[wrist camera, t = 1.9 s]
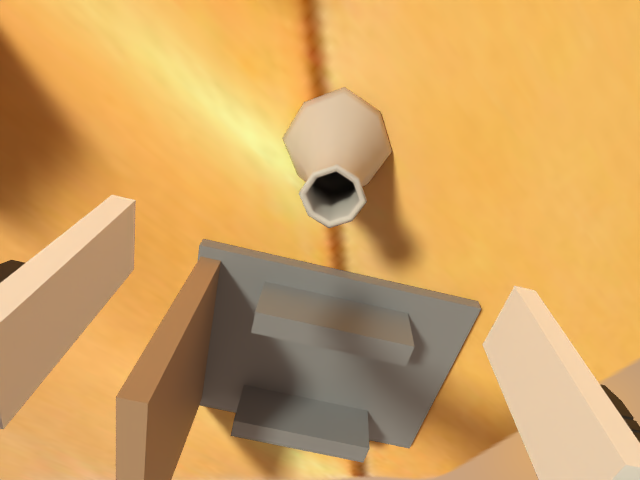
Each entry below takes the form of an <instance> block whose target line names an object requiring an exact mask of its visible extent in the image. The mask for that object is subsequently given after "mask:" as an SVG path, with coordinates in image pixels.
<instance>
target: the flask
mask: <svg viewBox="0 0 640 480" xmlns="http://www.w3.org/2000/svg"><path fill="white" fill-rule="evenodd" d="M283 141H284V143H285V146H286V148H287V150H288V153H289V155H290V158H291V160H292V162H293V165H294V167H295V170H296V172H297V175H298V176H299V177H300V178H302V179H303V180H304V181H306V182H305V184H304V185H303V187H302V188H301V190H300V191H299V195H300V197H301V200H302V202H303V205H304V207H305V209H306V212H307V214H308V216H310V217H311V218H313V219H315V220H316V221H318V222H320V223H321V224H323V225H324V226H326V227H328V228H331V227H334V226H338V225H341V224H344V223H347V222H350V221H353V219H354V218H355V217H356V215H357V214H358V213H359V211H360V210H361V209H362V208H363V206H364V205H365V204H366V202H367V199H366V196H365V193H364V190H363V186H365V185H367V184H368V183H369V182H370V180H371V179H372V178H373V176H374V175H375V174H376V172H377V171H378V170H379V168H380V167H381V166H382V164H383V163H384V162H385V160H386V159H387V158H388V156H389V155H390V154H391V152H392V149H391V146H390V142H389V139H388V136H387V133H386V129H385V126H384V123H383V119H382V116H381V113H380V111H379V110H377V109H376V108H374V107H373V106H371V105H370V104H368V103H367V102H366V101H364V100H363V99H361V98H360V97H358V96H357V95H355V94H354V93H353V92H351V91H350V90H348V89H347V88H345V87H343V88H341V89H338V90H335V91H333V92H330V93H327V94H325V95H322V96H319V97H317V98H314V99H312V100H309V101H306V102H304V103H303V105H302V106H301V108H300V110H299V111H298V113H297V115H296V116H295V118H294V120H293V121H292V123H291V125H290V126H289V128H288V130H287V131H286V133H285V135H284V136H283Z"/></svg>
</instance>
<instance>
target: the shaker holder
mask: <svg viewBox="0 0 640 480" xmlns="http://www.w3.org/2000/svg"><path fill="white" fill-rule="evenodd" d="M480 310H481V307H480V305H479V302H478V301H474V300H470V299H465V298H461V297H457V296H452V295H448V294H443V293H439V292H435V291H430V290H426V289H421V288H417V287H413V286H408V285H404V284H399V283H395V282H391V281H386V280H382V279H377V278H373V277H369V276H364V275H360V274H355V273H351V272H347V271H342V270H338V269H333V268H329V267H325V266H320V265H316V264H311V263H307V262H303V261H298V260H294V259H289V258H285V257H281V256H276V255H272V254H267V253H263V252H259V251H254V250H250V249H245V248H241V247H237V246H232V245H228V244H223V243H219V242H215V241H210V240H206V239H203V240H202V242H201V243H200V245H199V255H198V262H197V264H196V265H195V267H194V269H193V270H192V272H191V274H190V275H189V277H188V279H187V280H186V282H185V284H184V285H183V287H182V288H181V290H180V292H179V293H178V295H177V297H176V298H175V300H174V302H173V303H172V305H171V307H170V308H169V310H168V312H167V313H166V315H165V317H164V318H163V320H162V322H161V323H160V325H159V327H158V328H157V330H156V332H155V333H154V335H153V337H152V338H151V340H150V342H149V343H148V345H147V347H146V348H145V350H144V352H143V353H142V355H141V357H140V358H139V360H138V361H137V363H136V365H135V366H134V368H133V370H132V371H131V373H130V375H129V376H128V378H127V380H126V381H125V383H124V385H123V386H122V388H121V390H120V391H119V393H118V395H117V396H116V480H171V479H172V476H173V473H174V471H175V468H176V465H177V463H178V460H179V457H180V455H181V452H182V450H183V447H184V444H185V442H186V439H187V436H188V434H189V431H190V428H191V426H192V423H193V420H194V418H195V415H196V413H197V410H198V407H199V405H201V406H205V407H210V408H215V409H220V410H225V411H230V412H235V413H236V415H235V418H234V422H233V427H232V432H231V436H235V437H240V438H245V439H250V440H255V441H260V442H265V443H269V444H274V445H279V446H284V447H289V448H294V449H299V450H304V451H309V452H314V453H319V454H324V455H329V456H334V457H339V458H344V459H349V460H354V461H359V462H364V459H365V457H366V455H367V453H368V450H369V440H371V441H376V442H381V443H386V444H391V445H396V446H401V447H405V448H410V446H411V444H412V442H413V441H414V439H415V437H416V435H417V433H418V431H419V429H420V427H421V425H422V423H423V421H424V419H425V417H426V415H427V413H428V411H429V409H430V408H431V406H432V404H433V402H434V400H435V398H436V396H437V394H438V392H439V390H440V388H441V386H442V384H443V382H444V380H445V378H446V376H447V375H448V373H449V371H450V369H451V367H452V365H453V363H454V361H455V359H456V357H457V355H458V353H459V351H460V349H461V347H462V345H463V343H464V341H465V340H466V338H467V336H468V334H469V332H470V330H471V328H472V326H473V324H474V322H475V320H476V318H477V316H478V314H479V312H480Z"/></svg>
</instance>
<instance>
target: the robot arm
mask: <svg viewBox="0 0 640 480" xmlns="http://www.w3.org/2000/svg"><path fill="white" fill-rule="evenodd" d="M134 241H135V200H133V199H128V198H124V197H119V196H115V195H111V196H110V197H109V198H107V199H106V200H105V201H103V202H102V203H101V204H100V205H98V206H97V207H96V208H95V209H93V210H92V211H91V212H90V213H88V214H87V215H86V216H85V217H83V218H82V219H81V220H79V221H78V222H77V223H76V224H74V225H73V226H72V227H71V228H69V229H68V230H67V231H66V232H64V233H63V234H62V235H60V236H59V237H58V238H57V239H55V240H54V241H53V242H52V243H50V244H49V245H48V246H47V247H45V248H44V249H43V250H41V251H40V252H39V253H38V254H36V255H35V256H34V257H33V258H31V259H30V260H29V261H28V262H26V263H24V262H19V261H15V260H10V261H7V262H5V263H2V264H0V429H4V428H5V427H6V426H7V424H8V423H9V422H10V421H11V420H12V418H13V417H14V416H15V415H16V413H17V412H18V411H19V410H20V409H21V407H22V406H23V405H24V404H25V402H26V401H27V400H28V399H29V397H30V396H31V395H32V394H33V393H34V391H35V390H36V389H37V388H38V386H39V385H40V384H41V383H42V381H43V380H44V379H45V378H46V377H47V375H48V374H49V373H50V372H51V370H52V369H53V368H54V367H55V366H56V364H57V363H58V362H59V361H60V359H61V358H62V357H63V356H64V354H65V353H66V352H67V351H68V350H69V348H70V347H71V346H72V345H73V343H74V342H75V341H76V340H77V339H78V337H79V336H80V335H81V334H82V332H83V331H84V330H85V329H86V327H87V326H88V325H89V324H90V323H91V321H92V320H93V319H94V318H95V316H96V315H97V314H98V313H99V312H100V310H101V309H102V308H103V307H104V305H105V304H106V303H107V302H108V300H109V299H110V298H111V297H112V296H113V294H114V293H115V292H116V291H117V289H118V288H119V287H120V286H121V285H122V283H123V282H124V281H125V280H126V278H127V277H128V276H129V275H130V273H131V272H132V271H133V270H134ZM483 347H484V349H485V352H486V354H487V357H488V359H489V361H490V364H491V366H492V369H493V371H494V374H495V376H496V378H497V381H498V383H499V386H500V388H501V390H502V393H503V395H504V398H505V400H506V402H507V405H508V407H509V410H510V412H511V414H512V417H513V419H514V422H515V424H516V426H517V429H518V431H519V434H520V436H521V438H522V441H523V443H524V446H525V448H526V451H527V453H528V455H529V457H530V460H531V462H532V465H533V467H534V470H535V472H536V475H537V477H538V479H539V480H640V426H639V425H638V423H637V422H636V421H634V420H633V416H632V415H631V414H630V412H629V411H628V410H627V408H626V407H625V405H624V404H623V402H622V401H621V400H620V399H619V398H618V397H617V396H616V395H615V394H613V393H612V392H611V391H610V390H609V389H608V388H607V387H606V386H605V385H600V384H599V383H598V381H597V380H596V378H595V377H594V375H593V374H592V373H591V371H590V370H589V368H588V367H587V365H586V364H585V362H584V361H583V359H582V358H581V356H580V355H579V354H578V352H577V351H576V349H575V348H574V346H573V345H572V343H571V342H570V340H569V339H568V338H567V336H566V335H565V333H564V332H563V330H562V329H561V327H560V326H559V324H558V323H557V321H556V320H555V319H554V317H553V316H552V314H551V313H550V311H549V310H548V308H547V307H546V305H545V304H544V302H543V301H542V300H541V298H540V297H539V295H538V294H537V292H536V291H535V290H530V289H526V288H521V287H517V286H514V288H513V290H512V292H511V293H510V295H509V297H508V299H507V301H506V303H505V304H504V306H503V308H502V310H501V312H500V314H499V315H498V317H497V319H496V321H495V323H494V325H493V326H492V328H491V330H490V332H489V334H488V336H487V338H486V339H485V341H484V343H483Z"/></svg>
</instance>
